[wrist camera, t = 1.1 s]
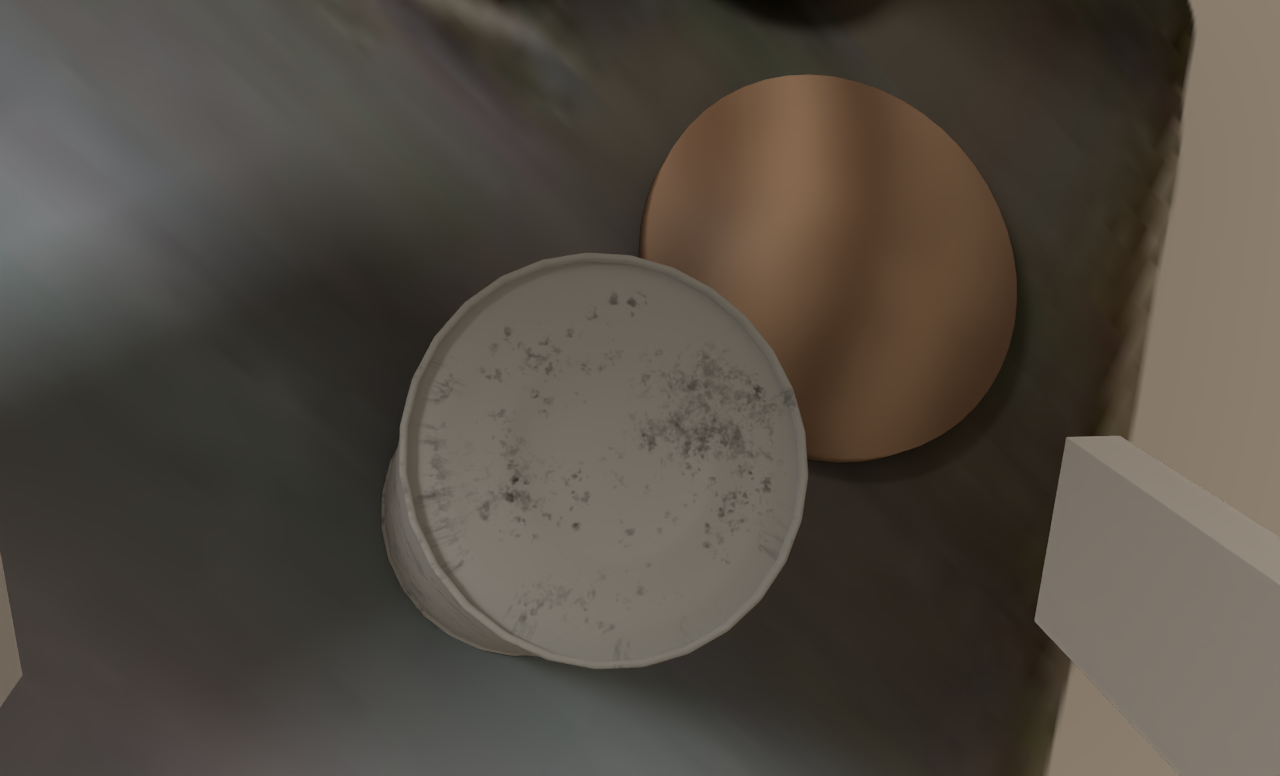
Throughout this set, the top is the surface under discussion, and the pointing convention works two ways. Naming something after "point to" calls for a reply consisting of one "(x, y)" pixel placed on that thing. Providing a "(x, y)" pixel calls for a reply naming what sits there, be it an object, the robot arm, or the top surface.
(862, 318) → the walnut board
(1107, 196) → the top surface
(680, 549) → the white speckled cylinder
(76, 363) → the top surface
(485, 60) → the top surface
